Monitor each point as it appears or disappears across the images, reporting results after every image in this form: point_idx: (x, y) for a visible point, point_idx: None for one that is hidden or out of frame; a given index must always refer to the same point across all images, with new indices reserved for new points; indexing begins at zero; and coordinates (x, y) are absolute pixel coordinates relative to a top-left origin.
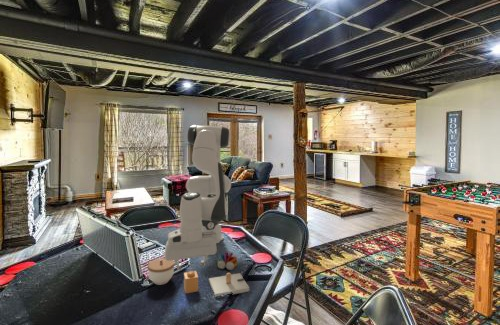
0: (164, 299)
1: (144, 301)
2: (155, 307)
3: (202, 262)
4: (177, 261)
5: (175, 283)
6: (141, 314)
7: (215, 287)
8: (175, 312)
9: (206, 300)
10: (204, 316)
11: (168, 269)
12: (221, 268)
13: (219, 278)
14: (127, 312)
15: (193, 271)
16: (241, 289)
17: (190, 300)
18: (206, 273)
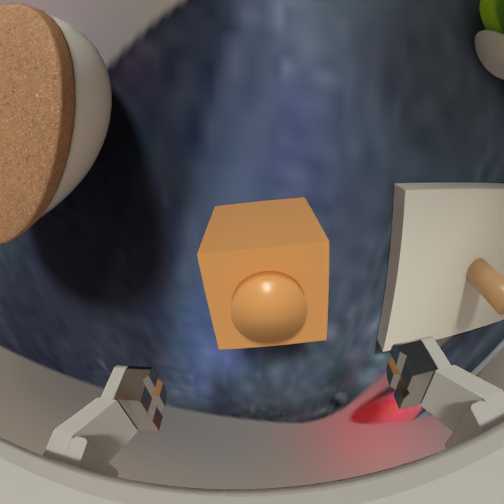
0: (122, 305)
1: (47, 296)
2: (104, 344)
3: (408, 405)
4: (110, 471)
5: (152, 152)
6: (75, 361)
7: (406, 301)
8: (193, 386)
9: (333, 349)
10: (301, 413)
11: (41, 215)
12: (490, 72)
13: (459, 213)
14: (30, 337)
15: (298, 294)
16: (485, 323)
17: None
18: (394, 64)
